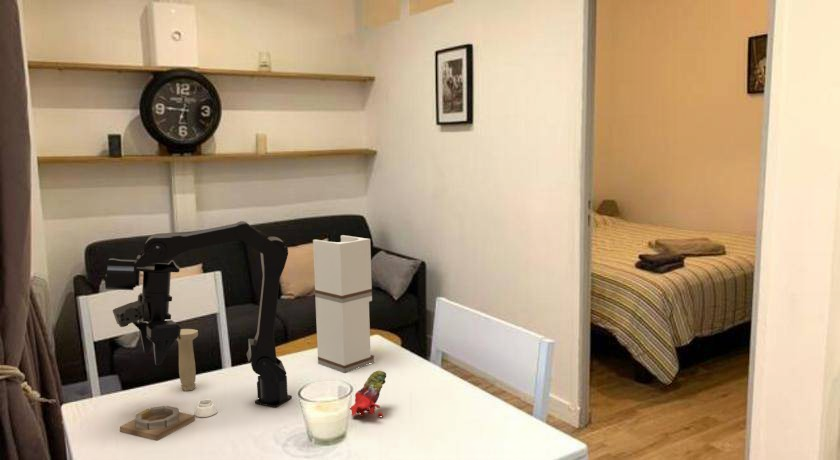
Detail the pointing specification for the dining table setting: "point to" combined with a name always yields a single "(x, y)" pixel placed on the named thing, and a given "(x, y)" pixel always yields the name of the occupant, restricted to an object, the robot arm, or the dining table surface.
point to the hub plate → (158, 431)
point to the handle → (187, 358)
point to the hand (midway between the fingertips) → (152, 358)
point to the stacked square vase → (343, 302)
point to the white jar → (205, 409)
